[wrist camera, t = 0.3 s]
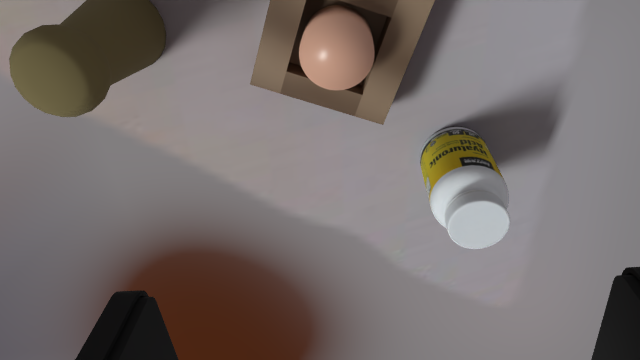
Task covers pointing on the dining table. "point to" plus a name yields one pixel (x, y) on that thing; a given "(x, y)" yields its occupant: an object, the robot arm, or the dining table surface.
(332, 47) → the pink rounded dome
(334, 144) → the dining table surface
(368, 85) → the wooden compartment tray
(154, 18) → the olive game pawn
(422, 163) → the supplement bottle
